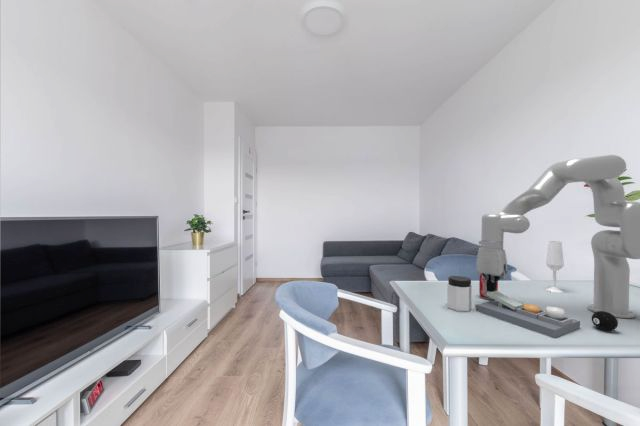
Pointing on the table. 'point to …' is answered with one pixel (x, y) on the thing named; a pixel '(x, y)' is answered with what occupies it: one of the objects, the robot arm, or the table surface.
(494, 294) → the plate
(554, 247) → the champagne flute
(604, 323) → the billiard ball
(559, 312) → the button
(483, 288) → the soda can
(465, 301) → the jar
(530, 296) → the table surface
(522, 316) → the panel
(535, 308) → the button
